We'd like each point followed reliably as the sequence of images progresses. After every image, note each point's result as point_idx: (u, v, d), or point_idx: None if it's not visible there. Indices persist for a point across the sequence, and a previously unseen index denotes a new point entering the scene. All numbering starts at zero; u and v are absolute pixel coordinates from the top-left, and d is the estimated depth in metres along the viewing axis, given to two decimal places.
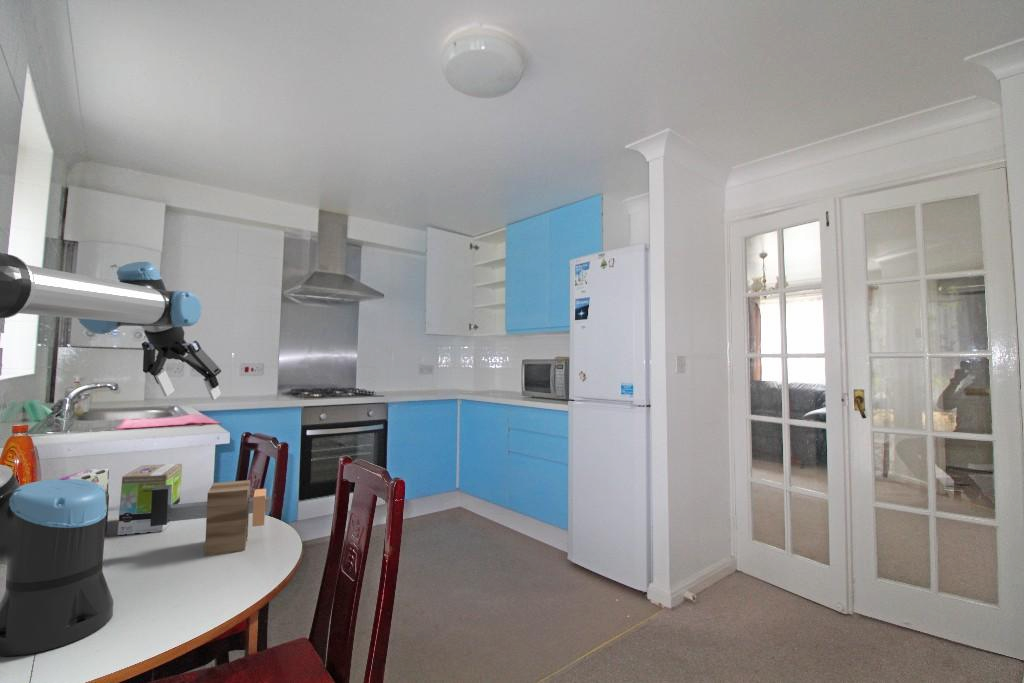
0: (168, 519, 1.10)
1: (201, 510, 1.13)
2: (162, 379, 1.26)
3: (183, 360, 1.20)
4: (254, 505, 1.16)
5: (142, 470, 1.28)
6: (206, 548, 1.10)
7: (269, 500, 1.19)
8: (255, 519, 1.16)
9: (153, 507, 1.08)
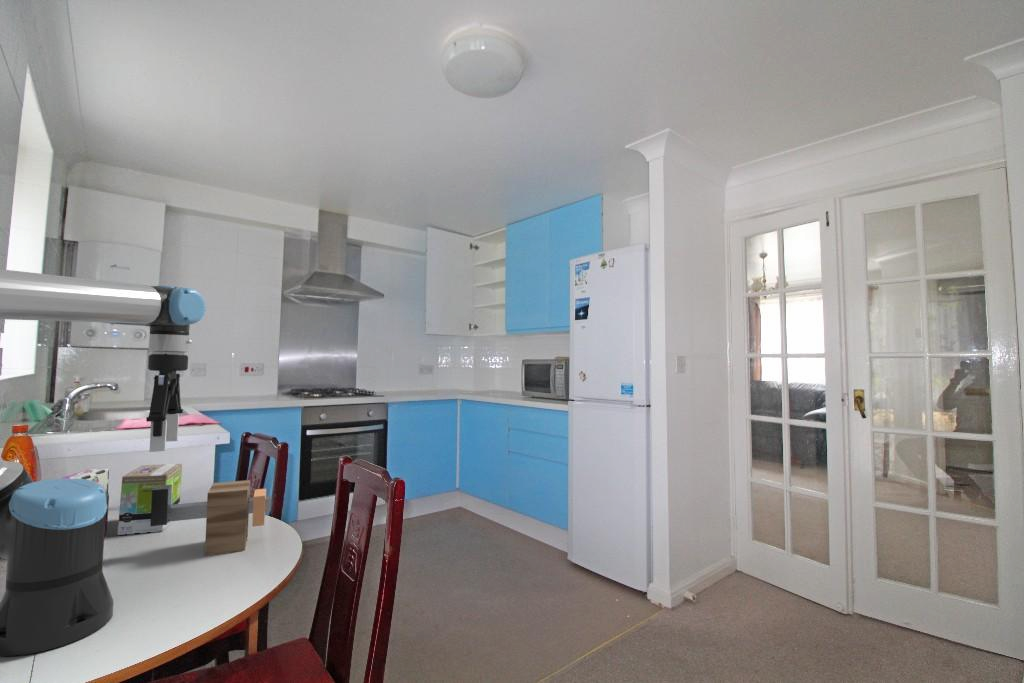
0: (168, 519, 1.10)
1: (201, 510, 1.13)
2: (168, 421, 1.17)
3: None
4: (254, 505, 1.16)
5: (142, 470, 1.28)
6: (206, 548, 1.10)
7: (269, 500, 1.19)
8: (255, 519, 1.16)
9: (153, 507, 1.08)
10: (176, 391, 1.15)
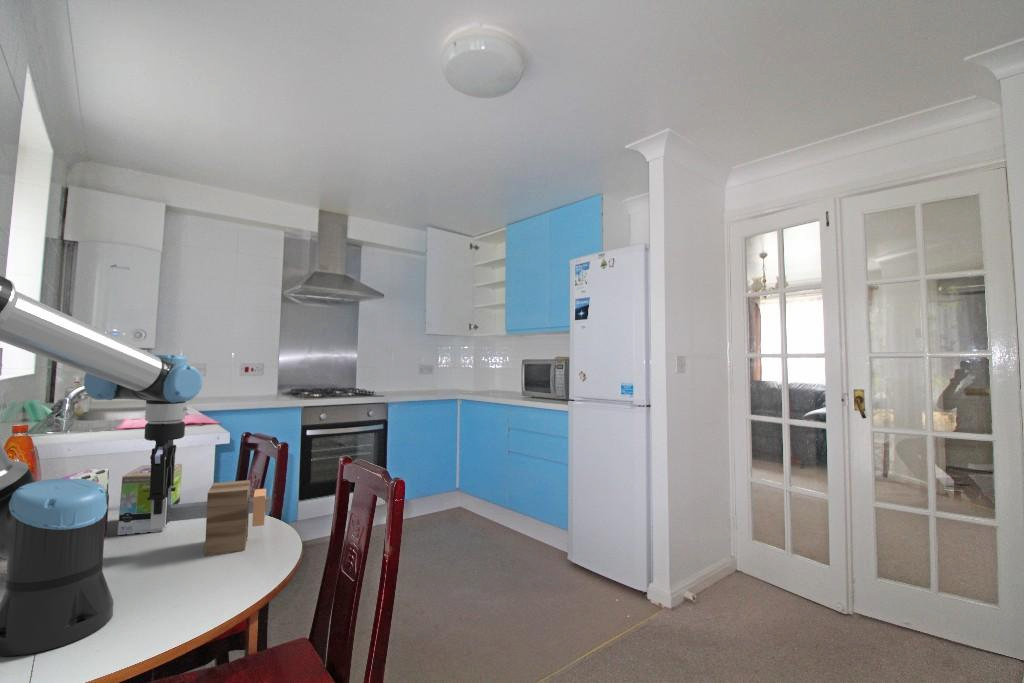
0: (168, 519, 1.10)
1: (201, 510, 1.13)
2: None
3: None
4: (254, 505, 1.16)
5: (142, 470, 1.28)
6: (206, 548, 1.10)
7: (269, 500, 1.19)
8: (255, 519, 1.16)
9: None
10: (171, 460, 1.13)
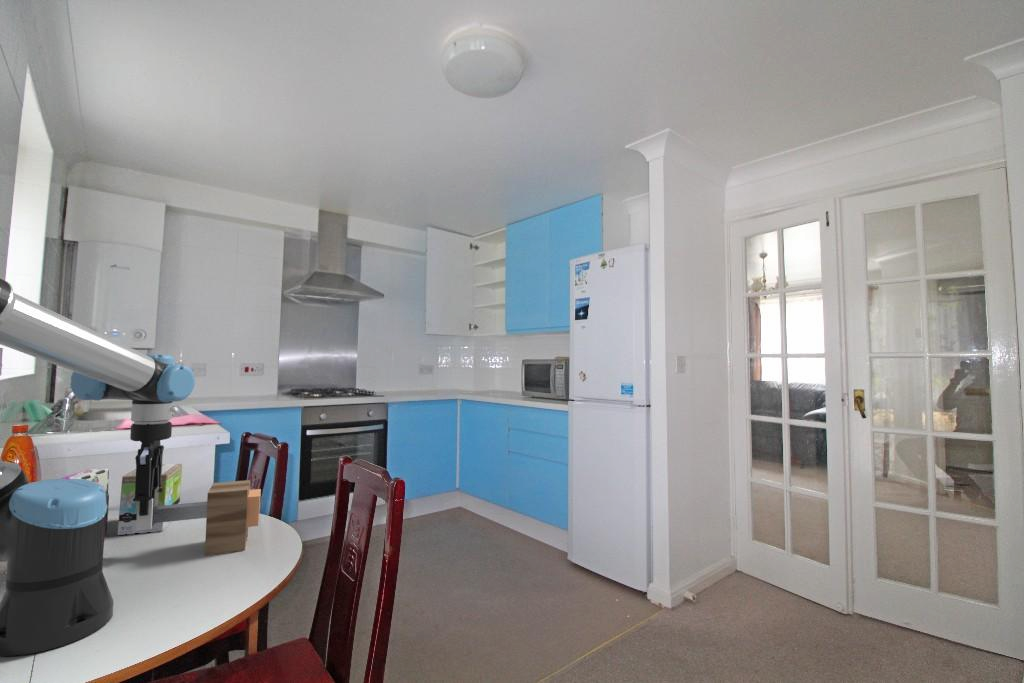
0: (155, 520, 1.09)
1: (188, 512, 1.11)
2: None
3: None
4: (248, 505, 1.15)
5: None
6: (206, 548, 1.10)
7: None
8: (249, 520, 1.15)
9: None
10: (158, 461, 1.12)
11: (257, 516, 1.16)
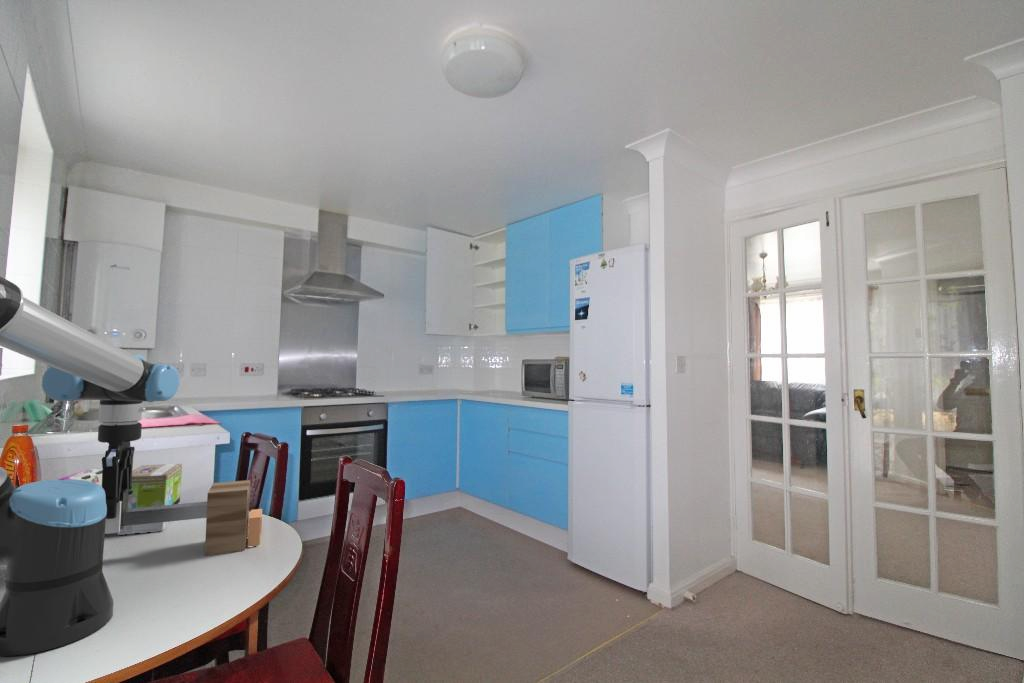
0: (123, 523, 1.06)
1: (158, 515, 1.09)
2: None
3: None
4: (249, 526, 1.15)
5: (142, 470, 1.28)
6: (206, 548, 1.10)
7: None
8: (250, 541, 1.15)
9: None
10: (128, 463, 1.09)
11: (258, 537, 1.16)
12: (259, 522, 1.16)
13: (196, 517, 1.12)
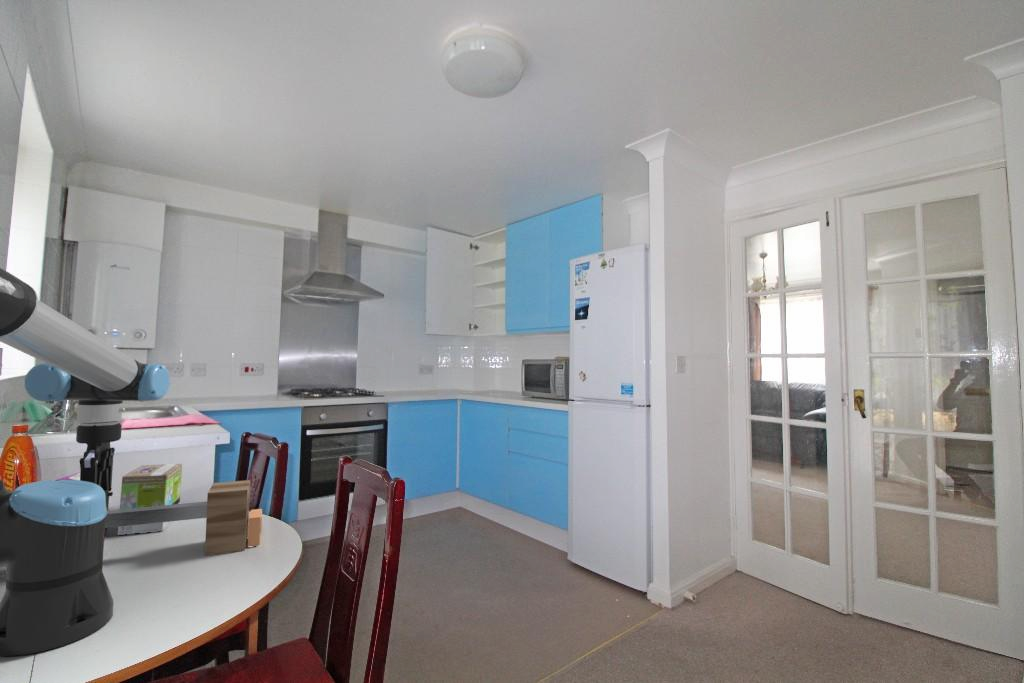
0: None
1: (138, 516, 1.08)
2: None
3: None
4: (249, 526, 1.15)
5: (142, 470, 1.28)
6: (206, 548, 1.10)
7: None
8: (250, 540, 1.15)
9: None
10: (107, 464, 1.08)
11: (258, 537, 1.16)
12: (259, 522, 1.16)
13: (177, 519, 1.11)
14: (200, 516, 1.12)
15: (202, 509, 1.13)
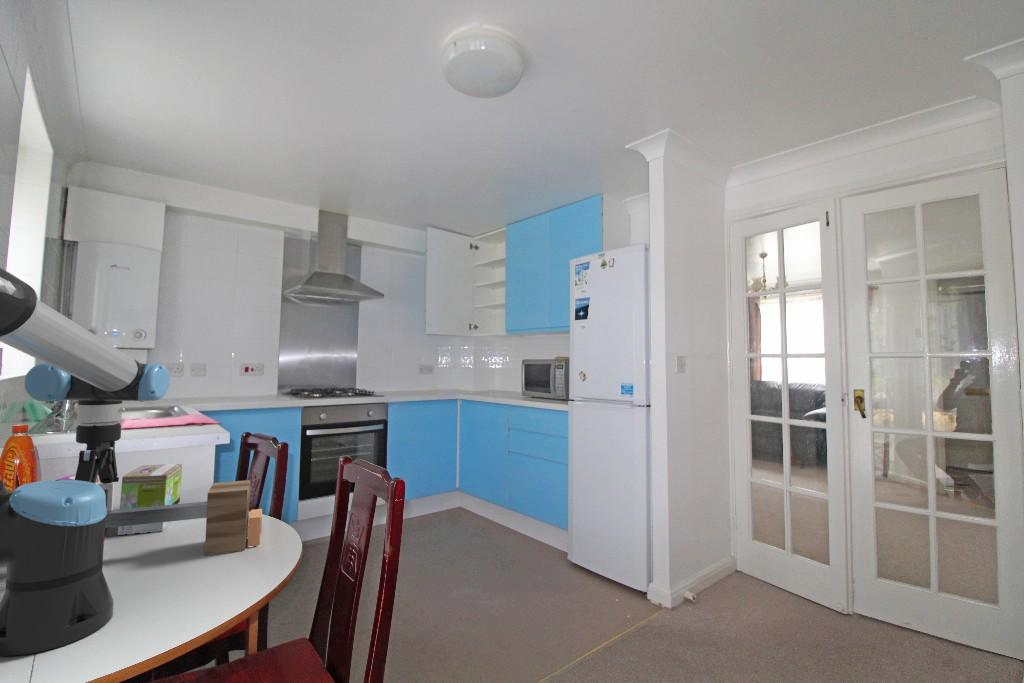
0: None
1: (138, 516, 1.07)
2: None
3: None
4: (249, 526, 1.15)
5: (142, 470, 1.28)
6: (206, 548, 1.10)
7: None
8: (250, 540, 1.15)
9: None
10: (109, 461, 1.09)
11: (258, 537, 1.16)
12: (259, 522, 1.16)
13: (177, 519, 1.11)
14: (200, 516, 1.12)
15: (202, 509, 1.13)
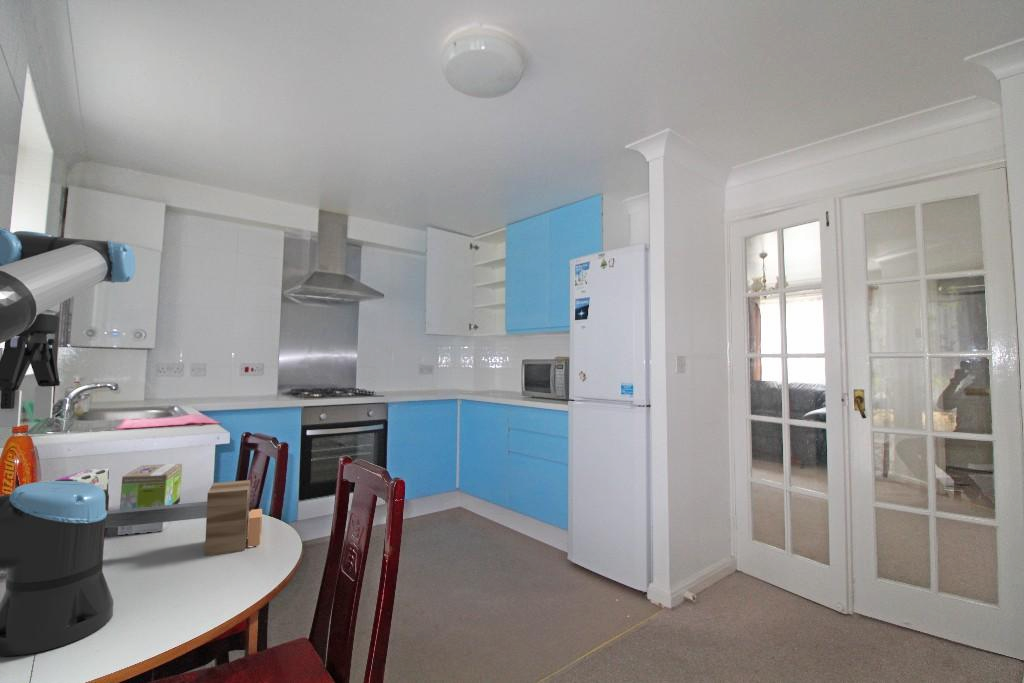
0: None
1: (138, 516, 1.07)
2: (40, 394, 0.99)
3: None
4: (249, 526, 1.15)
5: (142, 470, 1.28)
6: (206, 548, 1.10)
7: None
8: (250, 540, 1.15)
9: None
10: (45, 358, 0.97)
11: (258, 537, 1.16)
12: (259, 522, 1.16)
13: (177, 519, 1.11)
14: (200, 516, 1.12)
15: (202, 509, 1.13)
